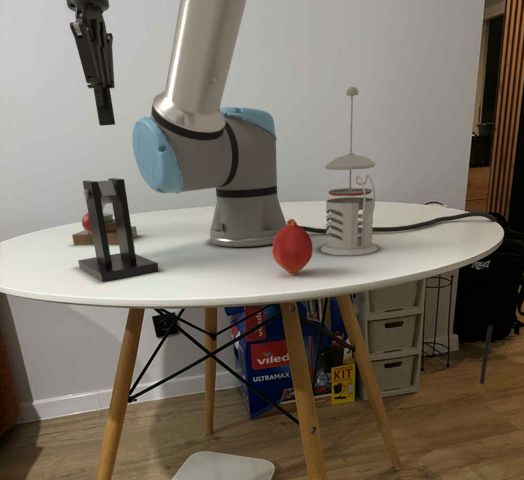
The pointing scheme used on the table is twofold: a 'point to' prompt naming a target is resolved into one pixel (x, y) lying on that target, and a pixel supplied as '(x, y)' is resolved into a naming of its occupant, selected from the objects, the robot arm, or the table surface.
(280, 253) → the onion
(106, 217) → the button
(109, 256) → the bracket
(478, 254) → the table surface
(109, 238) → the button block
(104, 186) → the lever
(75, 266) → the table surface
